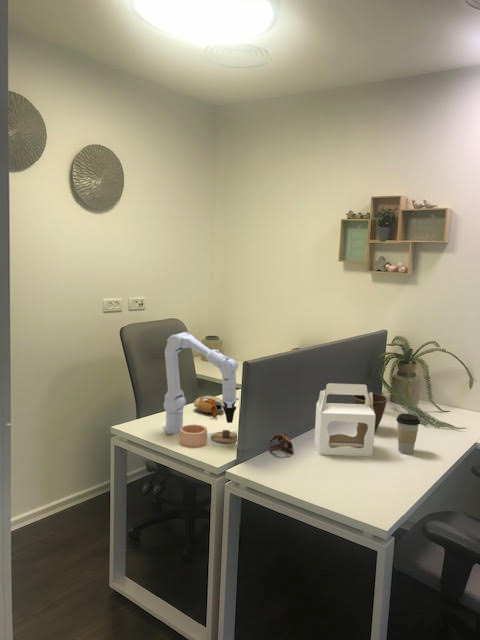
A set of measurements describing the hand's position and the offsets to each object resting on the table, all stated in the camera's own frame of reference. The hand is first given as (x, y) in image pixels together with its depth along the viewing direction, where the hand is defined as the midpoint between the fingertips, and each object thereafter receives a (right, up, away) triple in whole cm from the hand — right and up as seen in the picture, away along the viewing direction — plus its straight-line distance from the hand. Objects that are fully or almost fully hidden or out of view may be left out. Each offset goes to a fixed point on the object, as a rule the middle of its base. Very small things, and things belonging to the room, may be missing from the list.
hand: (229, 419), depth 212 cm
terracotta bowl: (-15, -9, -1) cm, 18 cm away
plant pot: (+64, -9, +21) cm, 68 cm away
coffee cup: (+73, -13, -3) cm, 74 cm away
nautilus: (-11, -5, +37) cm, 39 cm away
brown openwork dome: (+21, -12, -7) cm, 25 cm away
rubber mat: (-2, -9, +4) cm, 10 cm away
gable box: (+47, -12, -3) cm, 49 cm away
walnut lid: (-2, -9, +4) cm, 10 cm away
